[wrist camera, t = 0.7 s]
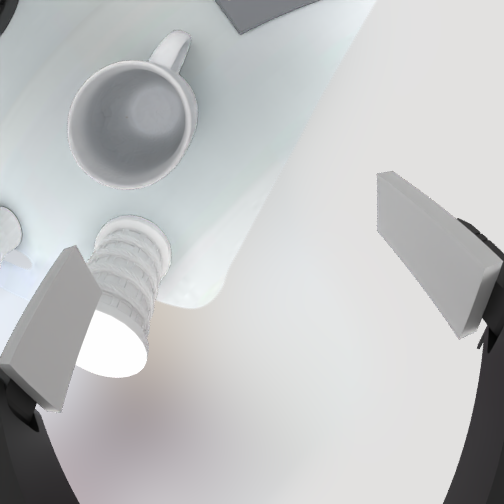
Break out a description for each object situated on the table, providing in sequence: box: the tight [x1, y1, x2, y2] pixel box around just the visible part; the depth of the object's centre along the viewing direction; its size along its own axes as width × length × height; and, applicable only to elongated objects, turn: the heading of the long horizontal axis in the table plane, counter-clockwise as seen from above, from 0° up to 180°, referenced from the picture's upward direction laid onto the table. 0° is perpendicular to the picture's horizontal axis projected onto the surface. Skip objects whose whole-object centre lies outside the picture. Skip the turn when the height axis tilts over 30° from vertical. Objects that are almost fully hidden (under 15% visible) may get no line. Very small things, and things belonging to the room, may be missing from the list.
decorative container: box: [76, 215, 172, 378], centre depth 34 cm, size 12×12×18 cm
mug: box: [67, 30, 198, 190], centre depth 25 cm, size 15×11×13 cm
